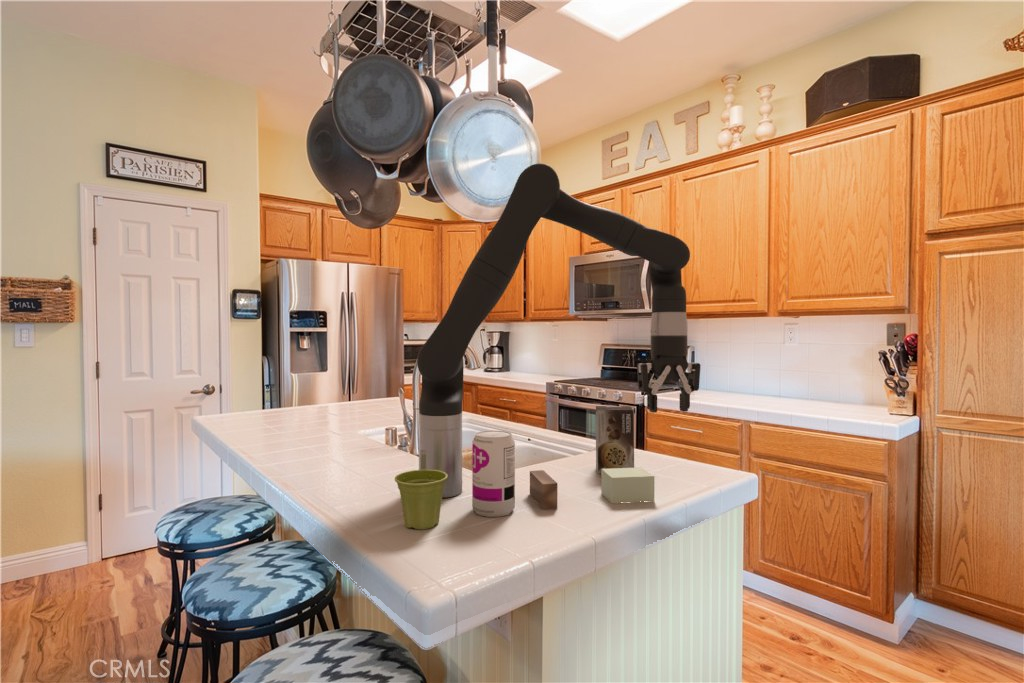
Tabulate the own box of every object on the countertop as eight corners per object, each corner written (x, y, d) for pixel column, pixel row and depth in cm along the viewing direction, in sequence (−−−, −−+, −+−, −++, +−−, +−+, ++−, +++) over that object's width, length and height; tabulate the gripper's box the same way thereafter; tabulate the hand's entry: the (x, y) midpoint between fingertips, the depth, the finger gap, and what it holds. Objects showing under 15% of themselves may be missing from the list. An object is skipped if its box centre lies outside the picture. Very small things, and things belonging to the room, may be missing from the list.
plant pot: (400, 537, 86) (400, 486, 86) (390, 519, 95) (390, 472, 95) (454, 529, 90) (454, 480, 90) (439, 512, 99) (439, 467, 99)
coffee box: (631, 468, 131) (631, 405, 131) (634, 475, 125) (634, 409, 125) (595, 467, 132) (595, 405, 132) (596, 474, 126) (597, 408, 126)
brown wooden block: (542, 509, 100) (542, 484, 100) (529, 494, 110) (529, 470, 110) (557, 508, 101) (557, 483, 101) (543, 493, 111) (543, 470, 111)
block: (612, 504, 104) (612, 477, 104) (601, 494, 111) (601, 468, 111) (654, 502, 105) (654, 476, 105) (641, 492, 112) (641, 467, 112)
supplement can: (483, 521, 94) (483, 439, 94) (465, 507, 101) (466, 432, 101) (522, 514, 98) (522, 435, 98) (502, 501, 105) (502, 428, 105)
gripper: (646, 333, 104) (646, 415, 105) (709, 333, 108) (708, 413, 108) (629, 334, 112) (629, 410, 112) (689, 334, 115) (689, 408, 115)
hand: (668, 411), depth 110 cm, fingers open, 6 cm apart
